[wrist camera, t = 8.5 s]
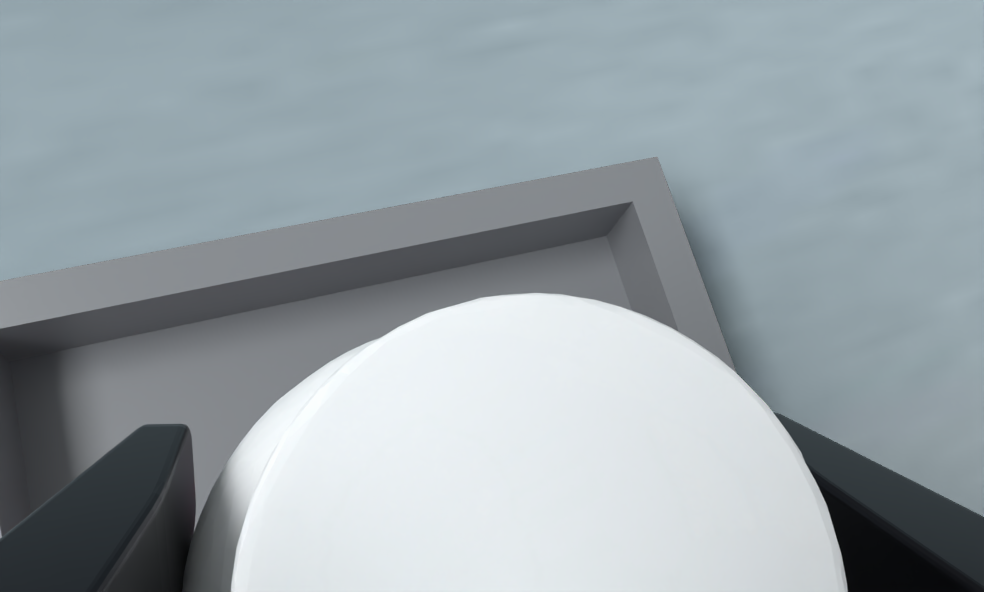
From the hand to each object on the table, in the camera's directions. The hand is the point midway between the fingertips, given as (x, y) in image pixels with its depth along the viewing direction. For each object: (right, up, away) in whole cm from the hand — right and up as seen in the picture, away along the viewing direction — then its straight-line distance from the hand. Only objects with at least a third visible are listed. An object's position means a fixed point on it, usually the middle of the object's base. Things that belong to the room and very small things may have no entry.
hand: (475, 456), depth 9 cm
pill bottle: (-1, -4, +6) cm, 7 cm away
